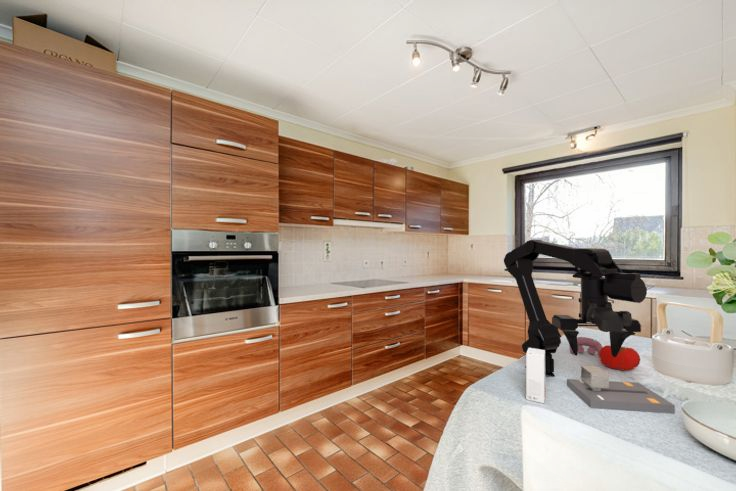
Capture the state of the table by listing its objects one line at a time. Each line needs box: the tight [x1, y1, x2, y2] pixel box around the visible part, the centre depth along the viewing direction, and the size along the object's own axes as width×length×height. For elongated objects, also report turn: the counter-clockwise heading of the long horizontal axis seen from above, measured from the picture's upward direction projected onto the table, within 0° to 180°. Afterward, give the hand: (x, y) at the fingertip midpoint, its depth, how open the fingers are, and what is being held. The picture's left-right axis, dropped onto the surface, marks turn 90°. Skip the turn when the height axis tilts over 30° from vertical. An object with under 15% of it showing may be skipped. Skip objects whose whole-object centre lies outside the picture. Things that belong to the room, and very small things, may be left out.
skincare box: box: [525, 348, 546, 404], centre depth 81 cm, size 6×4×12 cm
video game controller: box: [569, 336, 603, 358], centre depth 113 cm, size 10×5×7 cm, turn 58°
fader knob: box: [580, 365, 610, 391], centre depth 81 cm, size 4×5×5 cm
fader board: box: [566, 378, 676, 415], centre depth 80 cm, size 18×12×2 cm, turn 81°
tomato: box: [598, 344, 641, 371], centre depth 100 cm, size 10×11×6 cm
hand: (594, 355), depth 81 cm, fingers open, 9 cm apart
